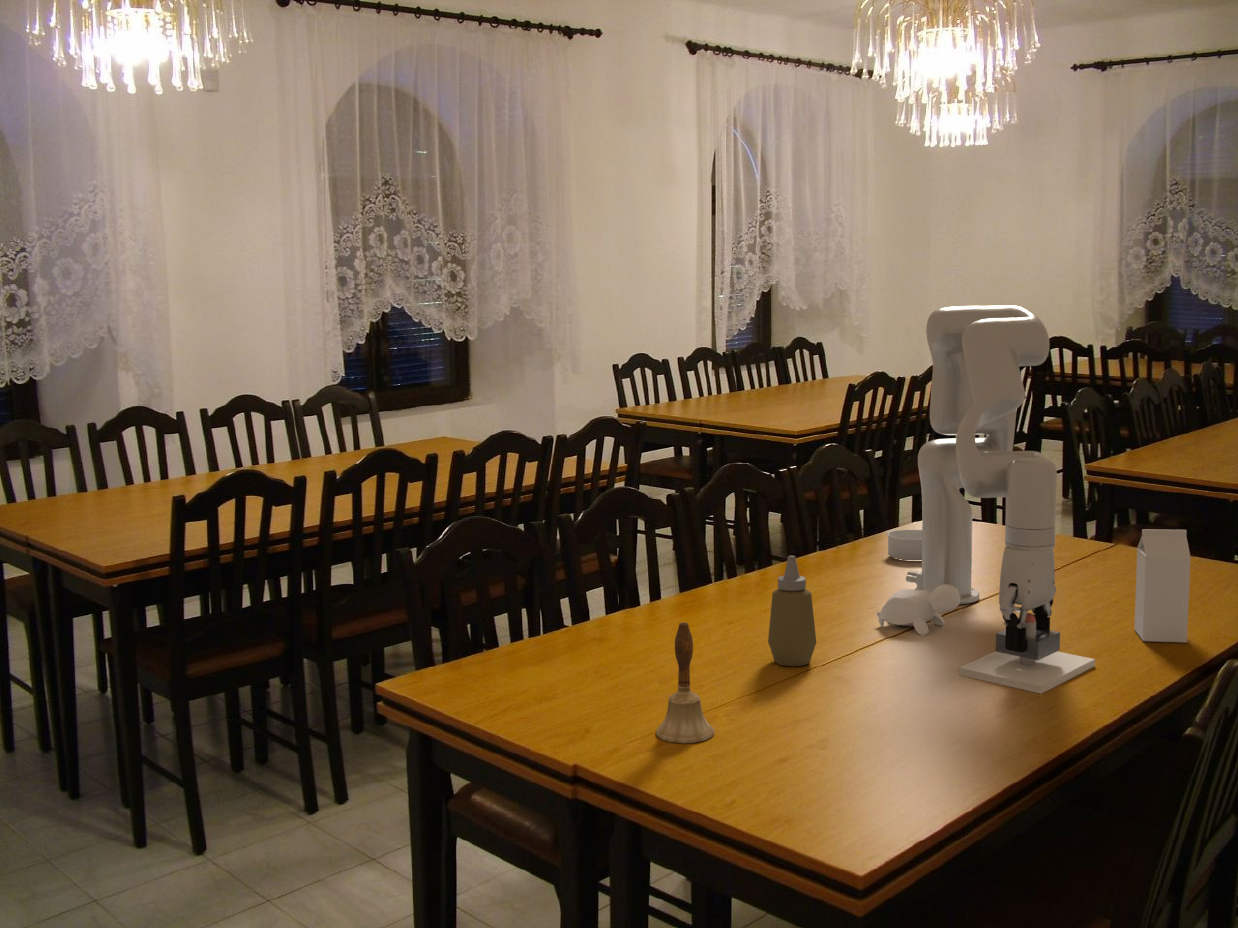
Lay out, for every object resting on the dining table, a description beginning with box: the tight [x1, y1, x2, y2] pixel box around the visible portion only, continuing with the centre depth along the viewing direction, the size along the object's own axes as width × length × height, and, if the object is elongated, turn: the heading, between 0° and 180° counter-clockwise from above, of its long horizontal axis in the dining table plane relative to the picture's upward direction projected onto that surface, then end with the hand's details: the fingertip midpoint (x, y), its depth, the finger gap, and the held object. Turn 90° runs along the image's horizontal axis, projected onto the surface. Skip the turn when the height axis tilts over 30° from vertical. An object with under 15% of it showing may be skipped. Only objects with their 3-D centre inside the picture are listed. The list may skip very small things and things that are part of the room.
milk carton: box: [1134, 528, 1191, 643], centre depth 213 cm, size 7×7×19 cm
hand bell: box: [655, 622, 716, 744], centre depth 174 cm, size 8×8×16 cm
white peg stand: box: [958, 612, 1096, 695], centre depth 198 cm, size 14×18×10 cm
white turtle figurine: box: [875, 584, 960, 636], centre depth 223 cm, size 9×8×15 cm
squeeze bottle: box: [767, 555, 817, 667], centre depth 205 cm, size 8×8×18 cm
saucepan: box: [886, 528, 922, 560], centre depth 276 cm, size 12×20×6 cm, turn 43°
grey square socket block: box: [995, 628, 1061, 660], centre depth 198 cm, size 7×7×3 cm
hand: (1027, 644), depth 198 cm, fingers closed on grey square socket block, 7 cm apart
